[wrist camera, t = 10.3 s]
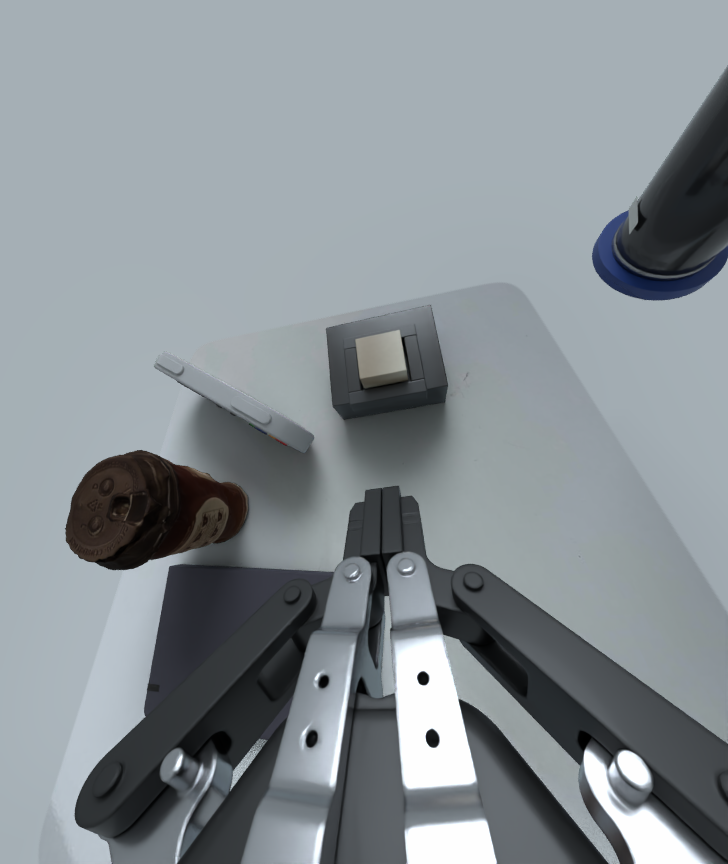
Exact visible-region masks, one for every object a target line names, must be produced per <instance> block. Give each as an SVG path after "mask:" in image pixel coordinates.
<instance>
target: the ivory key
mask: <svg viewBox="0 0 728 864" xmlns="http://www.w3.org/2000/svg"><path fill="white" fill-rule="evenodd" d="M355 342H356V351H357V359H358V368H359V377H360V380H361V383H362V385H363V387H364V389H366V388H372V387H377V386H382V385H388V384H393V383H398V382H404V381H408V376H407V369H406V363H405V357H404V351H403V345H402V339H401V334H400V330H396V331H391V332H387V333H382V334H377V335H373V336H368V337H363V338H359V339H355Z"/></svg>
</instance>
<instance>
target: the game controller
mask: <svg viewBox="0 0 728 864" xmlns="http://www.w3.org/2000/svg"><path fill="white" fill-rule="evenodd" d="M155 362H156V363H155V364H154V367H155V368H156V369H158V370H159V371H161V372H163V373H164V374H166V375H168V376H170V377H171V378H173V379H175V380H176V381H177V382H178V383H180V384H182V385H183V386H185V387H187V388H189V389H191V390H192V391H194V392H196V393H198V394H199V395H201V396H203V397H206V398H207V399H209V400H211V401H212V402H214V403H216V405H217V406H218V407H220V408H222V407H223V408H224V409H226V410H228V411H230V413H231V414H232V415H234V416H238V417H240V418H242V419H243V420H245V421H247V422H249V425H251V426H252V427H254V428H255V429H257V430H259V431H260V432H262V433H264V434H266V435H267V433H268V434H269V436H270V437H272V438H274V439H275V440H276V441H278V442H280V443H282V444H283V445H285V446H287V445H289V446H290V447H292V448H294V449H296V450H298V451H300V452H302V453H305V452H306V451H307V449H308V448H309V446H310V444H311V443H312V441H313V439H314V436H313V435H312V434H311V433H310V432H309V431H307V430H306V429H304V428H303V427H301V426H300V425H298V424H297V423H295V422H293V421H292V420H290V419H289V418H287V417H285V416H284V415H282V414H280V413H279V412H277V411H275V410H274V409H272V408H270V407H268V406H267V405H265V404H263V403H261V402H259V401H258V400H256V399H254V398H252V397H250V396H248V395H247V394H245V393H243V392H241V391H239V390H237V389H236V388H234V387H232V386H230V385H228V384H226V383H225V382H223V381H221V380H219V379H217V378H215V377H214V376H212V375H210V374H208V373H206V372H204V371H203V370H201V369H199V368H197V367H195V366H193V365H192V364H190V363H188V362H186V361H184V360H182V359H181V358H179V357H177V356H175V355H173V354H171V353H169V352H167V351H164V352H163V353H162V354H161V355H159V356H158V358H157V359H156V361H155Z"/></svg>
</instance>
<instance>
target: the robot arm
mask: <svg viewBox="0 0 728 864" xmlns="http://www.w3.org/2000/svg"><path fill="white" fill-rule="evenodd" d="M727 245H728V66H727V67H726V69H725V70H724V72H723V73H722V75H721V76H720V78H719V79H718V81H717V82H716V84H715V85H714V87H713V88H712V90H711V91H710V93H709V94H708V96H707V97H706V99H705V100H704V102H703V103H702V105H701V107H700V108H699V110H698V111H697V112H696V114H695V115H694V117H693V118H692V120H691V122H690V123H689V124H688V126H687V127H686V129H685V130H684V132H683V134H682V135H681V137H680V138H679V140H678V141H677V143H676V144H675V146H674V147H673V149H672V150H671V152H670V153H669V155H668V156H667V158H666V159H665V161H664V162H663V164H662V165H661V167H660V168H659V170H658V171H657V173H656V174H655V176H654V177H653V179H652V180H651V182H650V183H649V185H648V186H647V188H646V189H645V191H644V192H643V194H642V195H641V197H640V198H639V199H638V201H637V197H636V198H635V200H634V202H633V203H632V205H631V206H630V208H629V215H628V216H627V218H626V219H625V221H624V222H623V223H622V224H621V225H620V226H619V228H618V229H617V231H616V233H615V234H614V236H613V239H612V244H611V248H612V253H613V256H614V258H615V259H616V261H617V262H618V263H619V265H620V266H621V267H623V268H624V269H625V270H626V271H628V272H630V273H631V274H633V275H635V276H638V277H641V278H644V279H648V280H653V281H675V280H680V279H684V278H687V277H690V276H692V275H695V274H696V273H698V272H700V271H701V270H702V269H704V268H705V267H706V266H707V265H708V264H709V263H710V262H711V261H712V260H713V259H714V258H715V257H716V255H717V254H719V253H720V252H721V251H722V250H723V249H724V248H725V247H726V246H727ZM384 596H389V600H390V611H391V622H392V628H391V629H390V639H391V651H392V663H393V675H394V686H395V693H393V694H391V695H388V696H385V697H383V688H382V678H381V672H382V657H383V643H384V629H385V612H384ZM443 635H446V636H450V637H453V638H456V639H459V640H460V642H461V643H462V645H463V646H464V647H465V648H466V649H467V650H468V651H469V652H470V653H471V654H472V655H473V656H474V657H475V658H476V659H477V660H478V661H479V662H480V663H481V664H482V665H483V666H484V667H485V669H486V670H487V671H488V672H489V673H490V674H491V675H492V676H493V677H494V678H495V679H496V680H497V681H498V682H499V683H500V684H501V685H502V686H503V687H504V688H505V689H506V690H507V691H508V692H509V693H510V694H511V695H512V696H513V697H514V698H515V699H516V700H517V701H518V702H519V703H520V704H521V705H522V707H523V708H524V709H525V710H526V711H527V712H528V713H529V714H530V715H531V716H532V717H533V718H534V719H535V720H536V721H537V722H538V723H539V724H540V725H541V726H542V727H543V728H544V729H545V730H546V731H547V732H548V733H549V734H550V735H551V736H552V737H553V738H554V739H555V740H556V741H557V742H558V743H559V745H560V746H561V747H562V748H563V749H564V750H565V751H566V752H567V753H568V754H569V755H570V756H571V757H572V758H573V759H574V760H575V761H576V762H577V763H578V764H579V765H580V768H579V774H578V781H579V788H580V792H581V795H582V798H583V801H584V803H585V805H586V807H587V809H588V811H589V813H590V815H591V816H592V818H593V819H594V821H595V822H596V824H597V825H598V826H599V828H600V829H601V830H602V832H603V833H604V834H605V836H606V837H607V839H608V840H609V842H610V843H611V845H612V847H613V849H614V851H615V853H616V855H617V857H618V859H619V862H620V864H728V744H727V743H726V742H724V741H723V740H722V739H720V738H719V737H717V736H716V735H715V734H713V733H712V732H711V731H709V730H708V729H706V728H705V727H704V726H702V725H701V724H700V723H698V722H697V721H695V720H694V719H693V718H691V717H690V716H688V715H687V714H686V713H684V712H683V711H682V710H680V709H679V708H677V707H676V706H675V705H673V704H672V703H671V702H669V701H668V700H666V699H665V698H664V697H662V696H661V695H660V694H658V693H657V692H655V691H654V690H653V689H651V688H650V687H649V686H647V685H646V684H644V683H643V682H642V681H640V680H639V679H637V678H636V677H635V676H633V675H632V674H631V673H629V672H628V671H626V670H625V669H624V668H622V667H621V666H620V665H618V664H617V663H615V662H614V661H613V660H611V659H610V658H609V657H607V656H606V655H604V654H603V653H602V652H600V651H599V650H598V649H596V648H595V647H593V646H592V645H591V644H589V643H588V642H586V641H585V640H584V639H582V638H581V637H580V636H578V635H577V634H575V633H574V632H573V631H571V630H570V629H569V628H567V627H566V626H564V625H563V624H562V623H560V622H559V621H558V620H556V619H555V618H553V617H552V616H551V615H549V614H548V613H547V612H545V611H544V610H542V609H541V608H540V607H538V606H537V605H536V604H534V603H533V602H531V601H530V600H529V599H527V598H526V597H524V596H523V595H522V594H520V593H519V592H518V591H516V590H515V589H513V588H512V587H511V586H509V585H508V584H507V583H505V582H504V581H502V580H501V579H500V578H498V577H497V576H496V575H494V574H493V573H491V572H490V571H489V570H487V569H486V568H484V567H482V566H479V565H475V564H465V565H462V566H460V567H458V568H457V569H456V570H455V571H452V570H447V569H443V568H440V567H437V566H436V565H434V564H433V563H432V562H430V560H429V559H428V558H427V556H426V550H425V543H424V536H423V529H422V524H421V518H420V512H419V506H418V503H417V501H416V500H415V499H414V498H413V496H406V497H401V493H400V488H399V486H392V487H385V488H383V490H382V488H378V489H370V490H366V491H365V501H364V502H359V503H355V505H354V506H353V508H352V509H351V511H350V515H349V523H348V531H347V536H346V543H345V550H344V557H343V561H342V562H341V563H340V564H339V565H338V566H337V567H336V569H335V571H334V574H333V575H332V576H331V577H329V578H327V579H325V580H323V581H320V582H318V583H315V584H313V585H311V584H310V582H309V581H307V580H306V579H302V578H297V579H293V580H291V581H289V582H287V583H285V584H284V585H283V586H282V587H281V588H280V589H279V590H278V591H277V592H276V593H275V594H274V595H272V596H271V597H270V598H269V599H268V600H267V601H266V602H265V603H264V604H263V605H262V606H261V607H260V608H259V609H258V610H257V611H256V612H255V613H254V614H253V615H252V616H251V617H249V618H248V619H247V620H246V621H245V622H244V623H243V624H242V625H241V626H240V627H239V628H238V629H237V630H236V631H235V632H234V633H233V634H232V635H231V636H230V637H229V638H228V639H226V640H225V641H224V642H223V643H222V644H221V645H220V646H219V647H218V648H217V649H216V650H215V651H214V652H213V653H212V654H211V655H210V656H209V657H208V658H207V659H206V660H205V661H203V662H202V663H201V664H200V665H199V666H198V667H197V668H196V669H195V670H194V671H193V672H192V673H191V674H190V675H189V676H188V677H187V678H186V679H185V680H184V681H183V682H182V683H180V684H179V685H178V686H177V687H176V688H175V689H174V690H173V691H172V692H171V693H170V694H169V695H168V696H167V697H166V698H165V699H164V700H163V701H162V702H161V703H160V704H159V705H157V706H156V707H155V708H154V709H153V710H152V711H151V712H150V713H149V714H148V715H147V716H146V717H145V718H144V719H143V720H142V721H141V722H140V723H139V724H138V725H137V726H136V727H135V728H133V729H132V730H131V731H130V732H129V733H128V734H127V735H126V736H125V737H124V738H123V739H122V740H121V741H120V742H119V743H118V744H117V745H116V746H115V747H114V748H113V749H112V750H110V751H109V752H108V753H107V754H106V755H105V756H104V757H103V758H102V759H101V760H100V762H99V763H98V764H97V765H96V766H95V768H94V769H93V770H92V772H91V773H90V775H89V776H88V778H87V780H86V781H85V783H84V785H83V787H82V789H81V791H80V794H79V796H78V799H77V802H76V807H75V820H76V823H77V824H78V826H80V827H82V828H84V829H86V830H89V831H91V832H93V833H96V834H98V835H99V837H100V838H101V839H103V840H105V841H107V842H108V844H109V849H110V855H111V862H112V864H609V863H608V862H607V861H606V860H605V859H604V857H603V856H602V855H601V854H600V852H599V851H598V850H597V849H596V847H595V846H594V845H593V844H592V843H591V841H590V840H589V839H588V838H587V836H586V835H585V834H584V833H583V832H582V830H581V829H580V828H579V827H578V825H577V824H576V823H575V822H574V820H573V819H572V818H571V817H570V816H569V814H568V813H567V812H566V811H565V809H564V808H563V807H562V806H561V804H560V803H559V802H558V801H557V800H556V798H555V797H554V796H553V795H552V793H551V792H550V791H549V790H548V789H547V787H546V786H545V785H544V784H543V782H542V781H541V780H540V779H539V777H538V776H537V775H536V774H535V773H534V771H533V770H532V769H531V768H530V766H529V765H528V764H527V763H526V761H525V760H524V759H523V758H522V757H521V755H520V754H519V753H518V752H517V750H516V749H515V748H514V747H513V746H512V744H511V743H510V742H509V741H508V739H507V738H506V737H505V736H504V734H503V733H502V732H501V731H500V730H499V728H498V727H497V726H496V725H495V724H494V723H493V722H492V721H491V720H490V719H489V718H488V717H487V716H486V715H484V714H483V713H482V712H481V711H479V710H478V709H477V708H475V707H473V706H472V705H470V704H469V703H467V702H464V701H462V700H460V699H458V697H457V692H456V688H455V684H454V679H453V675H452V671H451V666H450V662H449V658H448V653H447V649H446V645H445V641H444V636H443ZM293 695H294V696H293ZM292 696H293V700H292V703H291V707H290V711H289V715H288V717H287V718H286V719H285V720H284V721H283V722H282V723H281V724H280V725H279V726H278V727H277V729H276V730H275V731H274V733H273V734H272V735H271V737H270V738H269V739H268V741H267V742H266V743H265V745H264V746H263V748H262V749H261V750H260V752H259V753H258V754H257V756H256V757H255V758H254V760H253V761H252V762H251V764H250V765H249V767H248V768H247V769H246V771H245V772H244V773H243V775H242V776H241V777H240V779H239V780H238V781H237V783H236V784H235V786H234V787H233V788H232V790H231V791H230V788H231V783H232V777H233V770H234V769H235V768H236V767H237V765H238V764H239V763H240V762H241V760H242V759H243V758H244V757H245V755H246V754H247V753H248V751H249V750H250V749H251V748H252V746H253V745H254V744H255V743H256V741H257V740H258V739H259V738H260V736H261V735H262V734H263V733H264V731H265V730H266V729H267V728H268V726H269V725H270V724H271V723H272V721H273V720H274V719H275V718H276V716H277V715H278V714H279V712H280V711H281V710H282V709H283V707H284V706H285V705H286V704H287V702H288V701H289V700H290V699H291V697H292Z"/></svg>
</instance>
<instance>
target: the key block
mask: <svg viewBox="0 0 728 864" xmlns="http://www.w3.org/2000/svg"><path fill="white" fill-rule="evenodd" d="M396 330H400V334H401V339H402V345H403V351H404V357H405V363H406V369H407V376H408V381H404V382H398V383H393V384H388V385H382V386H377V387H372V388H366V389H364V387H363V385H362V383H361V380H360V377H359V368H358V359H357V351H356V342H355V339H359V338H363V337H368V336H373V335H377V334H382V333H387V332H391V331H396ZM326 333H327V345H328V357H329V369H330V381H331V393H332V405H333V407H334V408H335V410H336V411H337V412H338V413H339V414H340V416H341V417H342V418H343V419H344V420H345V419H350V418H356V417H362V416H368V415H373V414H379V413H385V412H391V411H397V410H402V409H408V408H414V407H420V406H426V405H431V404H437V403H443V402H445V400H446V394H447V388H448V383H447V378H446V373H445V369H444V364H443V359H442V355H441V350H440V345H439V341H438V336H437V331H436V327H435V322H434V317H433V312H432V308H431V305H427V306H422V307H418V308H414V309H409V310H405V311H400V312H396V313H391V314H387V315H382V316H378V317H373V318H369V319H364V320H360V321H355V322H351V323H346V324H342V325H338V326H333V327H329V328H326Z"/></svg>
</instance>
